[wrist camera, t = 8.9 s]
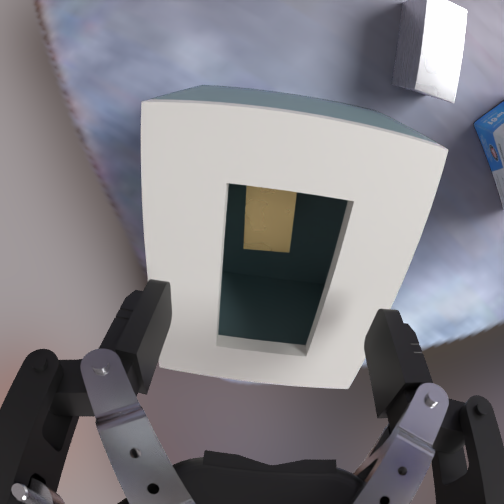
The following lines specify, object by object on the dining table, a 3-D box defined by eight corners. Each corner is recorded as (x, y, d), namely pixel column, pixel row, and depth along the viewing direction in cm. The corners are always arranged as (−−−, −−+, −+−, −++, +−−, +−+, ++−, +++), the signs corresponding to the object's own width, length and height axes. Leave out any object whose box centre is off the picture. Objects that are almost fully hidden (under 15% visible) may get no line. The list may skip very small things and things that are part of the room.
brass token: (249, 217, 22) (243, 248, 19) (254, 130, 19) (248, 144, 15) (287, 220, 22) (289, 252, 18) (297, 133, 19) (301, 149, 15)
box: (202, 85, 18) (141, 101, 10) (376, 110, 18) (448, 149, 10) (194, 269, 26) (159, 367, 17) (331, 287, 26) (348, 388, 17)
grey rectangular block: (390, 84, 17) (414, 89, 14) (402, 2, 14) (427, -8, 10) (425, 95, 17) (454, 103, 14) (436, 16, 14) (467, 10, 10)
